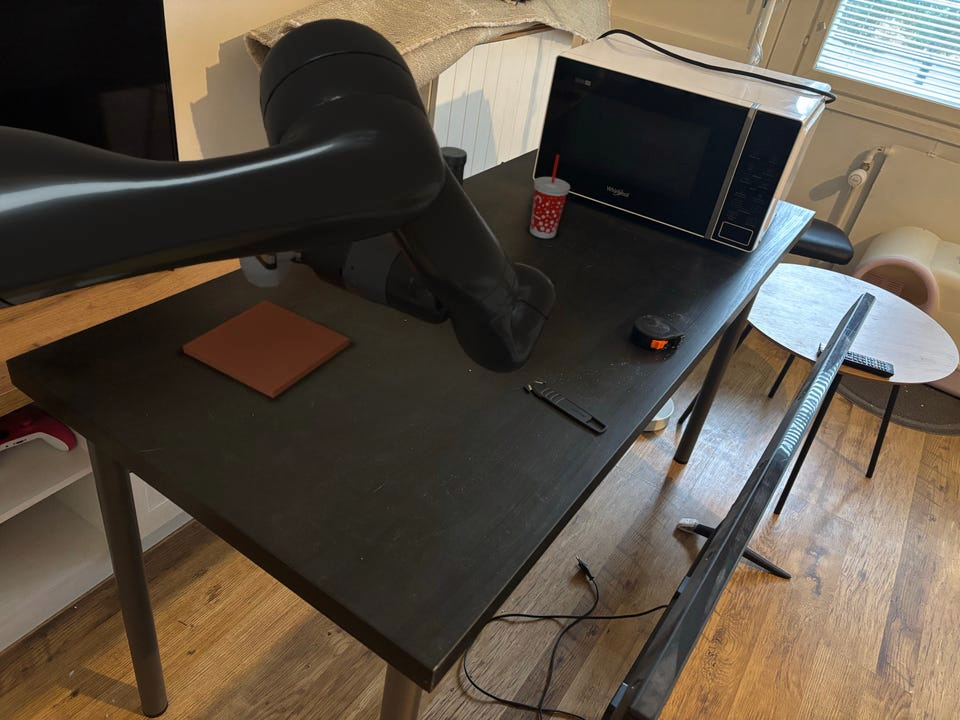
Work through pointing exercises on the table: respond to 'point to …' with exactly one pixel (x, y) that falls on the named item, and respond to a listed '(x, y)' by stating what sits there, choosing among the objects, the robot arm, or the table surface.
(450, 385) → the table surface
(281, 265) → the salt shaker
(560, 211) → the beverage cup
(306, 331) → the mat
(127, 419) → the table surface
